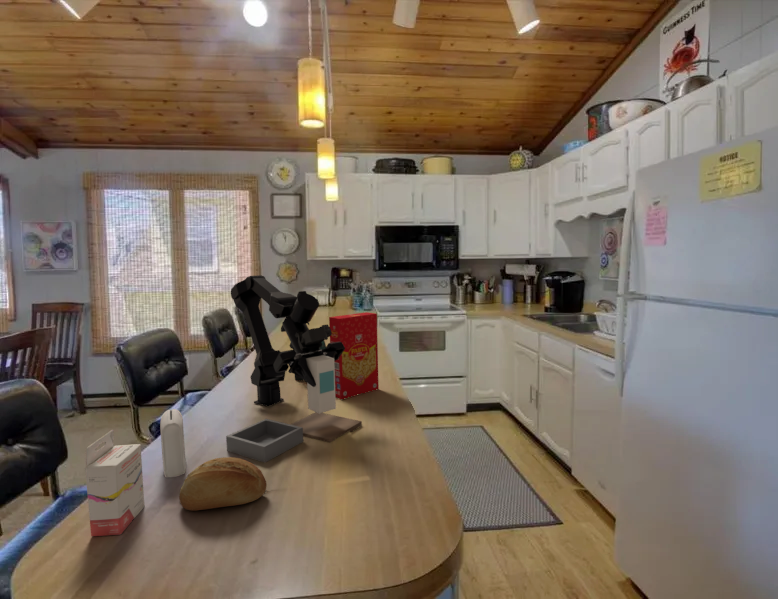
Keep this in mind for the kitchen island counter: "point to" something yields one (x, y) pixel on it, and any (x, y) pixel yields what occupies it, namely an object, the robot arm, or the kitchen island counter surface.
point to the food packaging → (355, 353)
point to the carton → (321, 384)
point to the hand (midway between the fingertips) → (324, 383)
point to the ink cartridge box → (113, 485)
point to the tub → (264, 440)
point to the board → (326, 426)
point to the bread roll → (222, 484)
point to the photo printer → (173, 443)
